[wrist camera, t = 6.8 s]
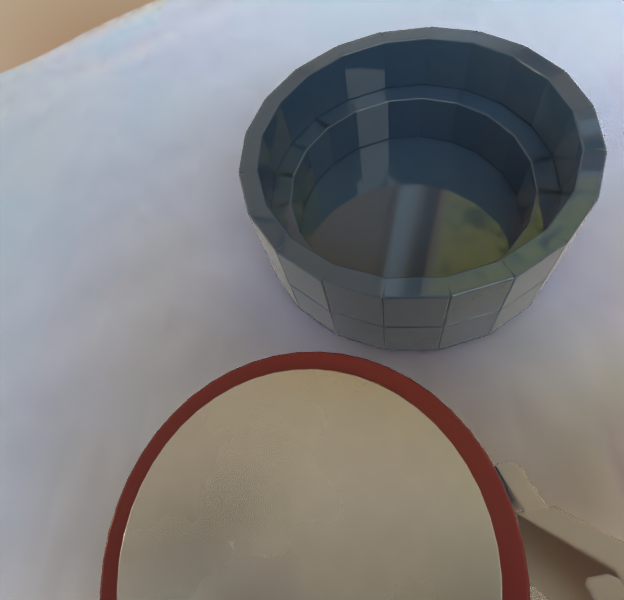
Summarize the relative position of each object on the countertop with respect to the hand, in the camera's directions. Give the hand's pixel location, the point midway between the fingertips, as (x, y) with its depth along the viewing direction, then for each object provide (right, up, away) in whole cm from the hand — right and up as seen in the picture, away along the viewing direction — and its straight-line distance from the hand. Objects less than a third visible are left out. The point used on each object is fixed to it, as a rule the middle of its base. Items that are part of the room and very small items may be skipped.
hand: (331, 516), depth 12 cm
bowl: (+4, +9, +11) cm, 15 cm away
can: (+1, -3, +5) cm, 6 cm away
